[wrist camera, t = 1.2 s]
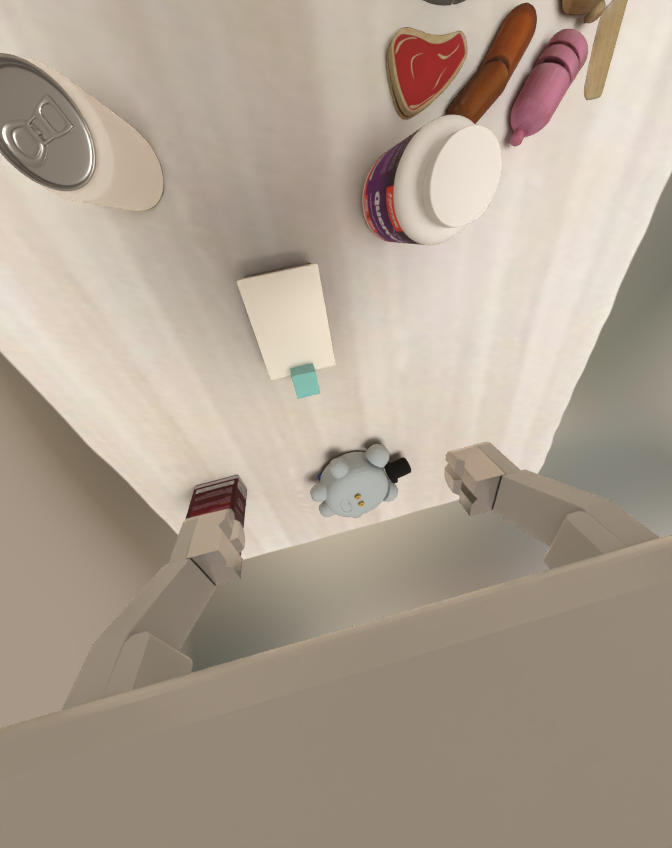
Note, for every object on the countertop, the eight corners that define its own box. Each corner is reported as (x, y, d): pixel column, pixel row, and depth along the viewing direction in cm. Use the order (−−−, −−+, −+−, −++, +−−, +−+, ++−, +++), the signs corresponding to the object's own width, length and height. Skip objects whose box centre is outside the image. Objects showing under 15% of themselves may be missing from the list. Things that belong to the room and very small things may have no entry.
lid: (237, 279, 29) (233, 285, 26) (316, 262, 29) (321, 266, 26) (275, 389, 37) (275, 404, 34) (336, 375, 38) (341, 388, 35)
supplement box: (206, 500, 53) (185, 585, 40) (194, 485, 50) (167, 571, 37) (248, 489, 53) (241, 569, 41) (239, 473, 50) (228, 554, 38)
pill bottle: (345, 203, 30) (389, 184, 18) (396, 127, 27) (485, 50, 16) (391, 257, 34) (450, 270, 23) (439, 196, 31) (535, 175, 20)
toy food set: (667, -170, 21) (739, -244, 18) (588, 130, 31) (625, 117, 27) (353, -105, 20) (368, -170, 17) (375, 181, 30) (387, 175, 27)
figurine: (323, 510, 61) (401, 475, 62) (334, 543, 54) (421, 503, 56) (295, 460, 51) (390, 419, 52) (304, 493, 44) (412, 445, 45)
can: (66, 147, 24) (-72, 89, 14) (119, 99, 23) (9, 4, 13) (132, 225, 28) (57, 221, 18) (180, 187, 27) (127, 161, 17)
